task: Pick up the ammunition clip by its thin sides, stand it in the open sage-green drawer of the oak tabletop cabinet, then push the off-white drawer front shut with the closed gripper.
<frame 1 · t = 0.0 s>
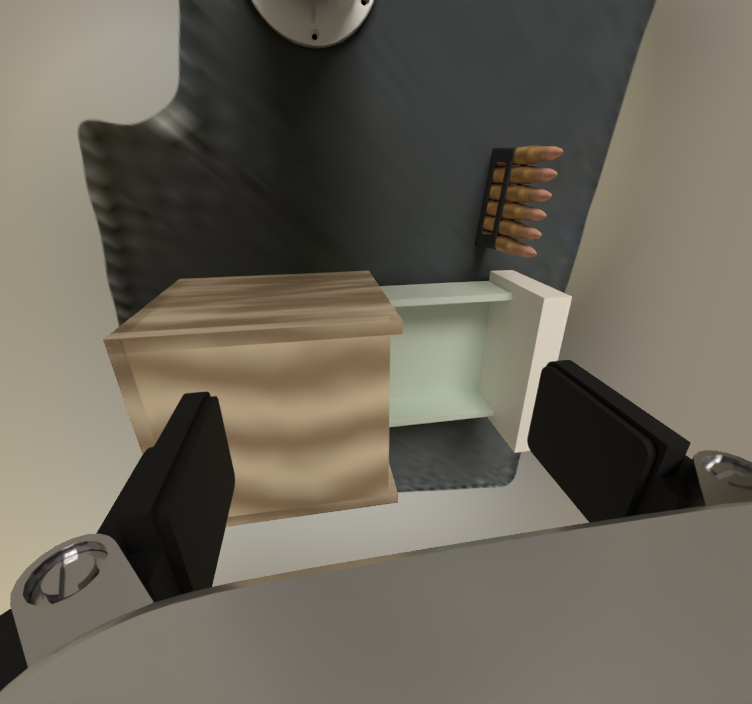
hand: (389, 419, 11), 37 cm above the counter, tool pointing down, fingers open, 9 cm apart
drawer: (441, 364, 45), point 7 cm above the counter, slide at 15.0 cm
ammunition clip: (489, 199, 45), on the counter
cabinet: (286, 350, 49), on the counter
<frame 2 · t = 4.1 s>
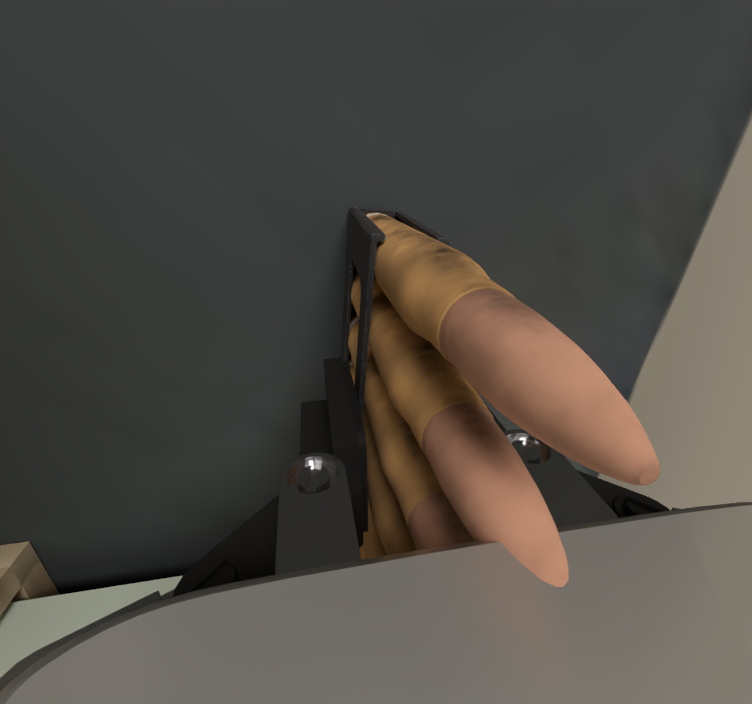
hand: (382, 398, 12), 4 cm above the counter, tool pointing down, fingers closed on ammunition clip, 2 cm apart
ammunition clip: (364, 346, 15), on the counter, touching gripper
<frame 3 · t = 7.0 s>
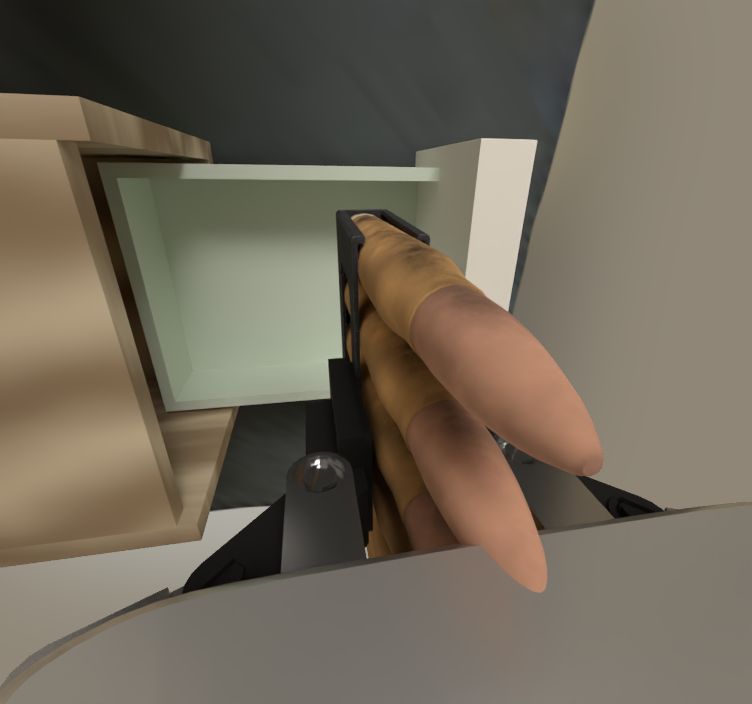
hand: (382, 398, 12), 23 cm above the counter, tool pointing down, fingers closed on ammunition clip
drawer: (323, 297, 26), point 7 cm above the counter, slide at 15.0 cm
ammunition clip: (364, 347, 15), point 19 cm above the counter, touching gripper
cabinet: (88, 280, 30), on the counter
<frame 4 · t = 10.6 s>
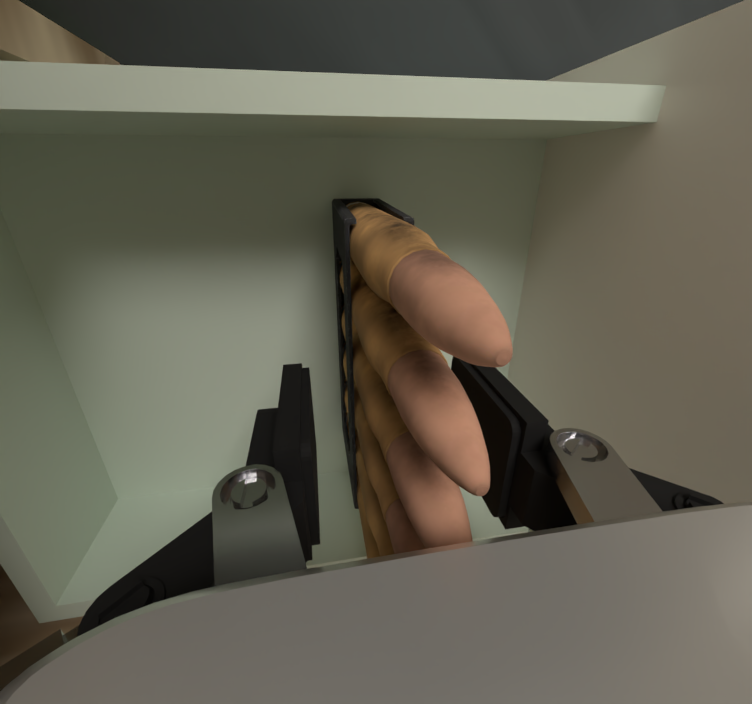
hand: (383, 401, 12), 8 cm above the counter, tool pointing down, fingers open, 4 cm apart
drawer: (367, 395, 12), point 7 cm above the counter, slide at 15.0 cm, touching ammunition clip
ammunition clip: (358, 328, 16), point 2 cm above the counter, touching drawer
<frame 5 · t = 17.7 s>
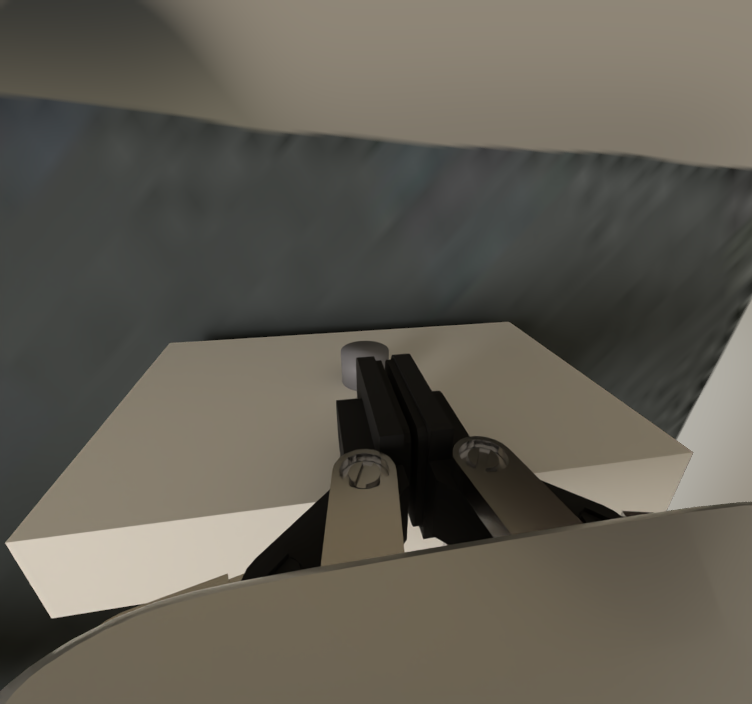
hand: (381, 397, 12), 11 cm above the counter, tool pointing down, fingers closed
drawer: (368, 556, 20), point 7 cm above the counter, slide at 14.1 cm, touching gripper, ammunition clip
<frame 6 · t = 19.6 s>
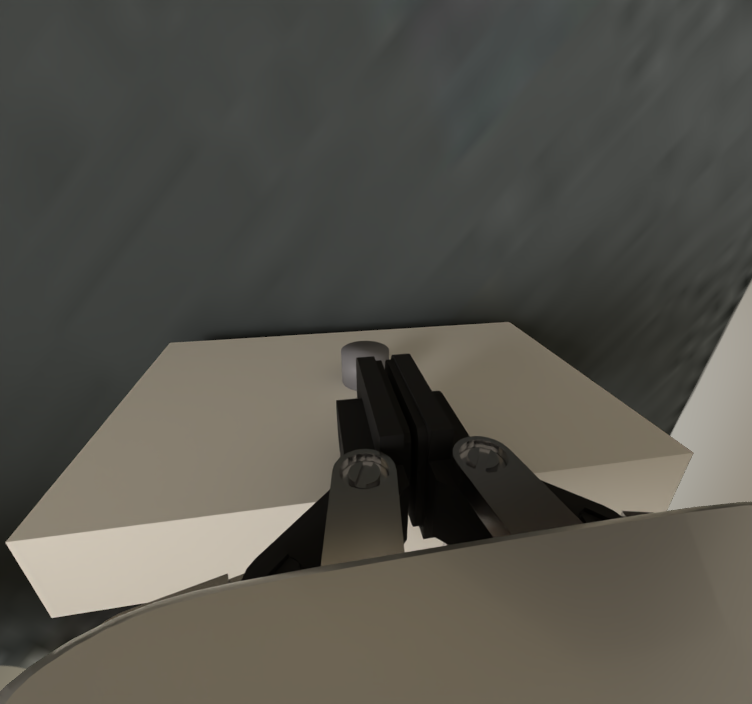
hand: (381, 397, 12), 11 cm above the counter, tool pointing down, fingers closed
drawer: (368, 556, 20), point 7 cm above the counter, slide at 5.8 cm, touching gripper, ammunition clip
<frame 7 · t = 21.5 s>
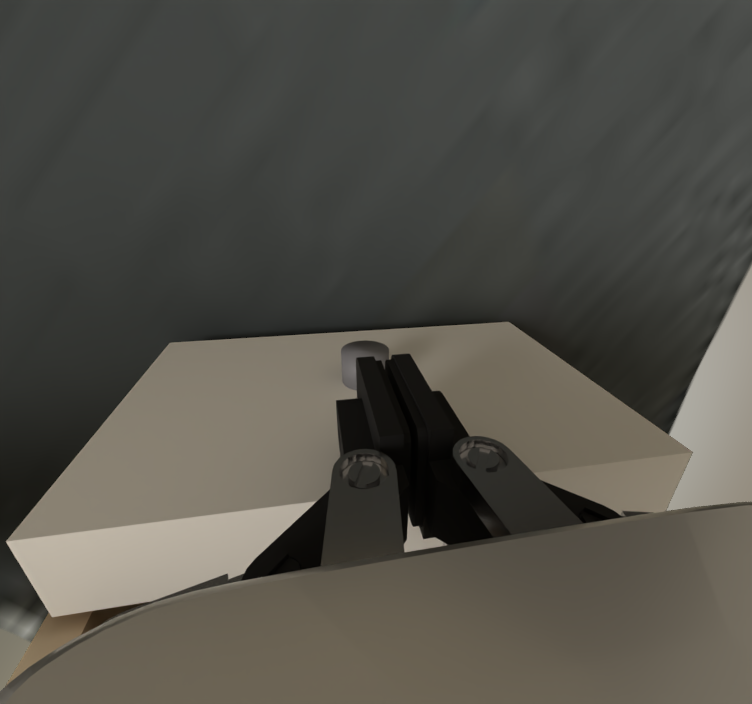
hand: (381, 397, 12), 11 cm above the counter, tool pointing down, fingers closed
drawer: (368, 556, 20), point 7 cm above the counter, slide at -0.1 cm, touching gripper, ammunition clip
cabinet: (354, 499, 28), on the counter
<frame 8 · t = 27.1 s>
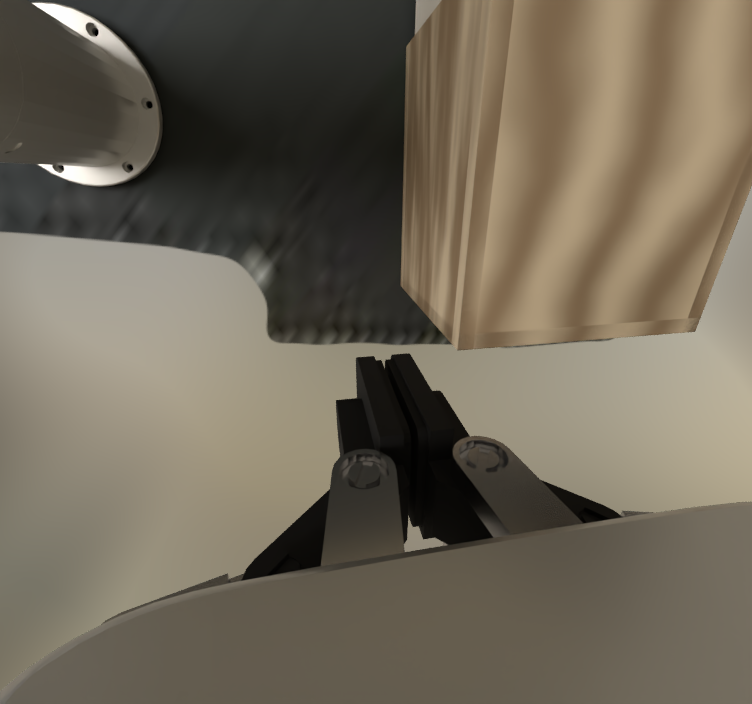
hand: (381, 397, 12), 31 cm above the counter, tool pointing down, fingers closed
drawer: (539, 134, 32), point 7 cm above the counter, slide at 0.0 cm, touching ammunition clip
cabinet: (494, 180, 40), on the counter
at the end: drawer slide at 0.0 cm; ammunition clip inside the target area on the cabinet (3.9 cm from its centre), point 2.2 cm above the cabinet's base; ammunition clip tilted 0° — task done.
